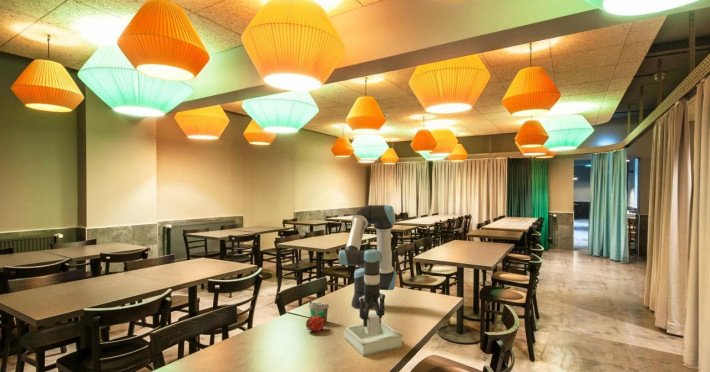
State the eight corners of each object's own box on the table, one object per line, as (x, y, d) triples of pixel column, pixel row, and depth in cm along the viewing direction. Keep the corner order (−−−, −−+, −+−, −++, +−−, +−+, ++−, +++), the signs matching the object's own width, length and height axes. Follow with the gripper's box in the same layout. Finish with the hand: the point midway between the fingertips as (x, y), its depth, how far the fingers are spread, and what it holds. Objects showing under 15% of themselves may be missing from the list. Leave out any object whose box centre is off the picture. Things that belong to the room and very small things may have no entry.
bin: (380, 331, 177) (380, 320, 177) (402, 347, 158) (402, 335, 158) (343, 338, 168) (343, 327, 168) (362, 356, 149) (362, 343, 149)
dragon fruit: (303, 336, 175) (324, 334, 181) (310, 330, 170) (331, 328, 176) (301, 319, 180) (321, 318, 186) (308, 313, 175) (328, 312, 181)
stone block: (374, 329, 167) (374, 313, 167) (379, 333, 162) (379, 316, 162) (365, 331, 164) (365, 314, 164) (370, 335, 160) (370, 318, 160)
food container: (304, 321, 190) (304, 303, 190) (310, 318, 195) (310, 300, 196) (322, 325, 184) (322, 307, 184) (328, 322, 190) (328, 303, 190)
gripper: (384, 278, 171) (384, 325, 170) (351, 283, 163) (351, 332, 163) (392, 282, 164) (392, 331, 164) (358, 287, 156) (358, 338, 156)
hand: (372, 331), depth 163 cm, fingers closed on stone block, 5 cm apart
